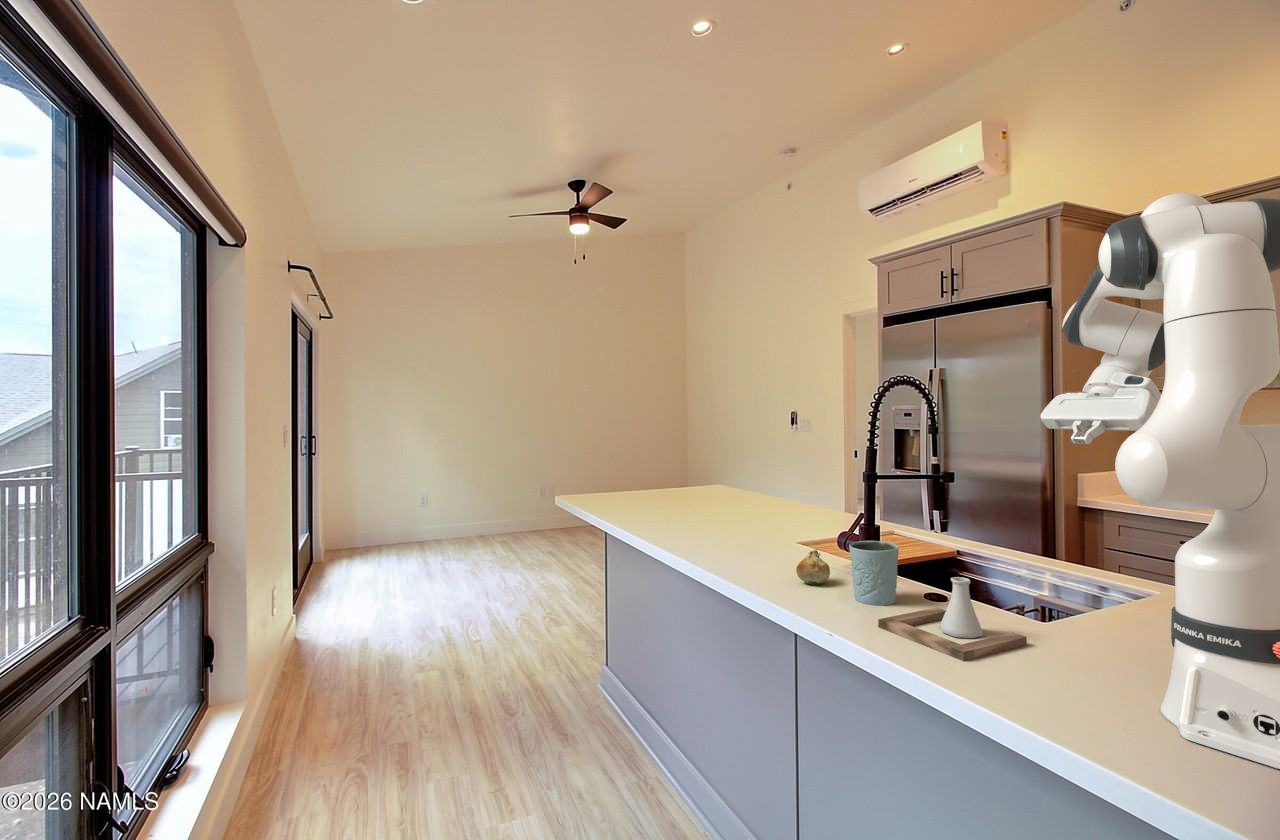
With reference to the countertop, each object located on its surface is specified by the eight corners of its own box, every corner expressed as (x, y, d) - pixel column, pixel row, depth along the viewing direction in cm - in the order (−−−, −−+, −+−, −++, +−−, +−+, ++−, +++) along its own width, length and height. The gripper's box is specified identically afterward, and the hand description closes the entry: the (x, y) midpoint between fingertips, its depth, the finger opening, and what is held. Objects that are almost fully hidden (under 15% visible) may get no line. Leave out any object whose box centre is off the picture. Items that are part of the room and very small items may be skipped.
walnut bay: (1026, 645, 114) (1026, 636, 114) (963, 661, 108) (963, 651, 108) (937, 614, 131) (937, 607, 131) (878, 626, 125) (878, 619, 125)
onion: (790, 581, 159) (789, 548, 159) (820, 578, 161) (819, 546, 161) (805, 589, 152) (804, 555, 152) (836, 586, 154) (835, 552, 154)
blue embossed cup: (902, 596, 145) (901, 542, 144) (896, 609, 136) (896, 551, 135) (854, 591, 149) (853, 539, 149) (846, 603, 140) (845, 548, 140)
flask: (991, 638, 118) (991, 583, 118) (953, 640, 117) (953, 585, 117) (968, 625, 125) (967, 573, 125) (932, 627, 124) (931, 575, 124)
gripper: (1052, 382, 141) (1022, 429, 137) (1159, 377, 122) (1128, 432, 118) (1065, 403, 143) (1036, 450, 139) (1174, 401, 124) (1143, 455, 120)
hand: (1079, 441), depth 128 cm, fingers closed
